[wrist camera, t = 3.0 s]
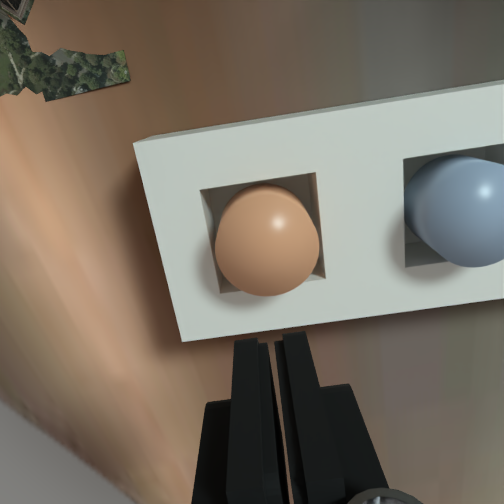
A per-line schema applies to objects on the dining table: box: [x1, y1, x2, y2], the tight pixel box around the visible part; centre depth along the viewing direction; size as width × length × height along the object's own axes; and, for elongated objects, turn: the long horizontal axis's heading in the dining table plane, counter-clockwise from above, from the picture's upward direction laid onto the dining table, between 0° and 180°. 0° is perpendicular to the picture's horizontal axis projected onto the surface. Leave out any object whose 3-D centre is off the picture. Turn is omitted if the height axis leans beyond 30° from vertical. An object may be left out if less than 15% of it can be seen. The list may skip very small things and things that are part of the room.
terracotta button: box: [215, 183, 319, 296], centre depth 18 cm, size 4×4×3 cm
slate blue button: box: [404, 154, 504, 268], centre depth 18 cm, size 4×4×3 cm
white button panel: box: [133, 80, 504, 342], centre depth 20 cm, size 28×10×4 cm, turn 99°
